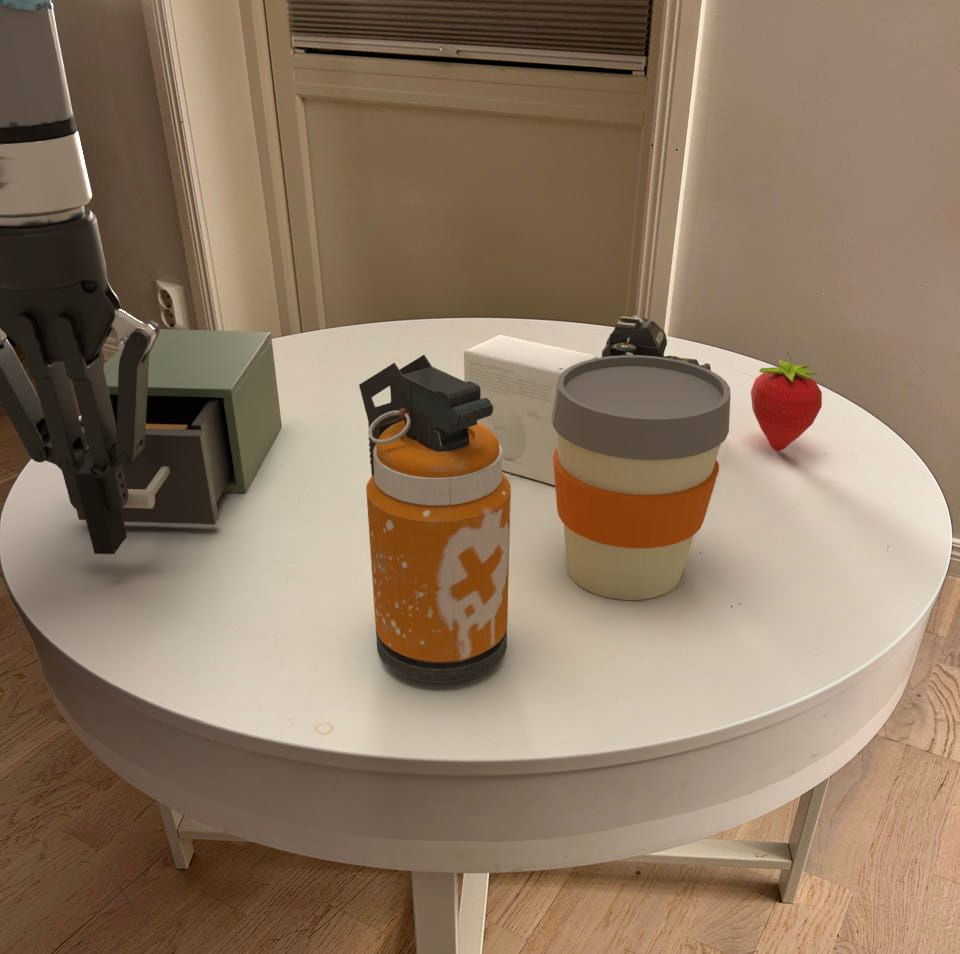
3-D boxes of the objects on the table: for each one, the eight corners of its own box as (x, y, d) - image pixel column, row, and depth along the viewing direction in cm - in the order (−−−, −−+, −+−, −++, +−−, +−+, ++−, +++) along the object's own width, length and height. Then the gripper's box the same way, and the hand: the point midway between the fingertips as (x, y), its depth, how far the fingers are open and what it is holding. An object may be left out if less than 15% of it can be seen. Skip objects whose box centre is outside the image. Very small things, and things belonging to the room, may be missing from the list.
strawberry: (771, 471, 92) (791, 366, 87) (728, 439, 98) (744, 338, 92) (825, 462, 94) (848, 358, 88) (780, 431, 100) (799, 332, 94)
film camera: (723, 459, 94) (739, 357, 88) (592, 459, 94) (600, 356, 88) (690, 389, 109) (702, 296, 103) (576, 388, 109) (582, 296, 103)
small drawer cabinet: (246, 493, 88) (230, 389, 83) (106, 488, 89) (81, 385, 83) (282, 426, 100) (270, 331, 94) (158, 422, 101) (140, 328, 95)
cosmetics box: (591, 462, 94) (600, 352, 88) (557, 488, 89) (564, 374, 83) (498, 436, 98) (500, 330, 92) (461, 459, 94) (460, 350, 88)
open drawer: (194, 560, 77) (177, 468, 72) (50, 555, 77) (24, 463, 73) (254, 454, 93) (243, 373, 88) (134, 450, 93) (116, 369, 88)
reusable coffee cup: (676, 630, 71) (705, 435, 62) (517, 587, 76) (523, 399, 67) (724, 551, 80) (754, 371, 72) (579, 517, 85) (592, 343, 76)
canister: (429, 708, 64) (420, 414, 52) (335, 632, 71) (309, 357, 59) (533, 656, 69) (545, 375, 57) (435, 589, 76) (429, 326, 64)
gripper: (-106, 223, 58) (3, 567, 72) (111, 228, 58) (180, 574, 71) (-44, 195, 64) (47, 517, 78) (154, 199, 64) (210, 523, 78)
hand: (110, 544), depth 75 cm, fingers closed
